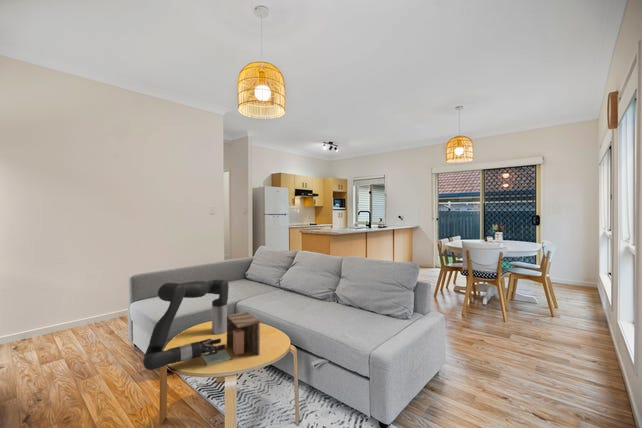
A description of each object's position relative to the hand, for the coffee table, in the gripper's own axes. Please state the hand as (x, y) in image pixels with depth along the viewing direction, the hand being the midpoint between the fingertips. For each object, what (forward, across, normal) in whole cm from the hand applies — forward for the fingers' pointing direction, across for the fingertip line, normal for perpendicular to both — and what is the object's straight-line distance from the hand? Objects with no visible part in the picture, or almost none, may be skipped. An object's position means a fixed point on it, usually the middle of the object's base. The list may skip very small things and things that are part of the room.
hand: (222, 343), depth 154 cm
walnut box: (+11, 0, +7) cm, 13 cm away
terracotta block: (+8, 0, +7) cm, 11 cm away
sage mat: (-3, 0, +7) cm, 8 cm away
